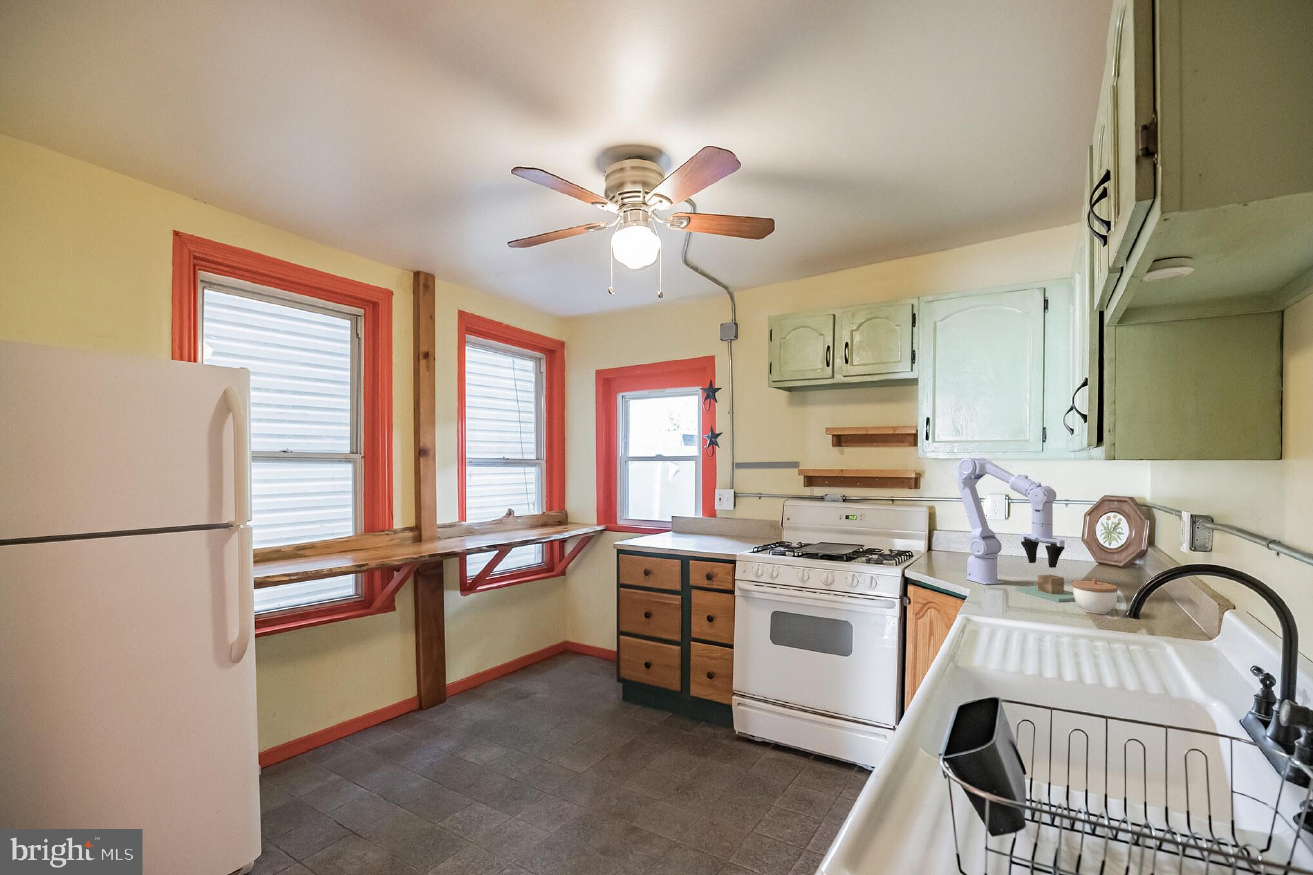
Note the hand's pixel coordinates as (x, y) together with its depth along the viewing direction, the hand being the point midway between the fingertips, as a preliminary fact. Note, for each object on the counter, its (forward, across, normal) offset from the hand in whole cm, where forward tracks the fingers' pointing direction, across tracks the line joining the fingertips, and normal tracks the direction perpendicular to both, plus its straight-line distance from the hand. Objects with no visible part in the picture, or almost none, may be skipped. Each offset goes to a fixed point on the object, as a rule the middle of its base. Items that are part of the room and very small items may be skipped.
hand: (1042, 565), depth 199 cm
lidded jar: (+9, +21, -4) cm, 24 cm away
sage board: (+9, +2, +1) cm, 10 cm away
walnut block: (+8, +2, +1) cm, 9 cm away
